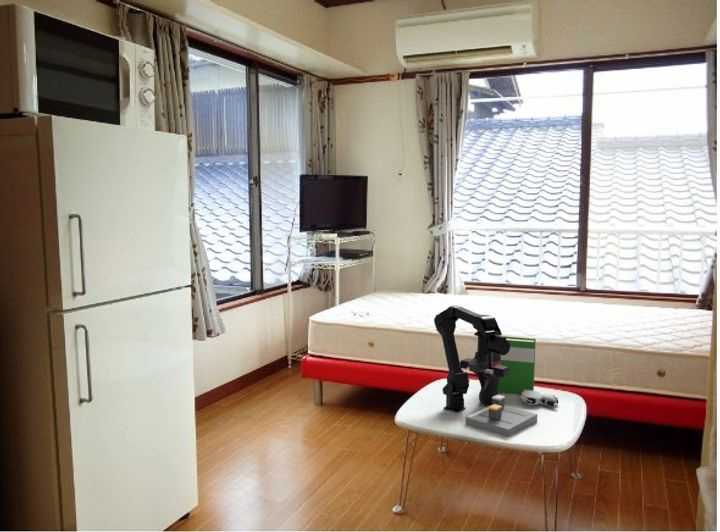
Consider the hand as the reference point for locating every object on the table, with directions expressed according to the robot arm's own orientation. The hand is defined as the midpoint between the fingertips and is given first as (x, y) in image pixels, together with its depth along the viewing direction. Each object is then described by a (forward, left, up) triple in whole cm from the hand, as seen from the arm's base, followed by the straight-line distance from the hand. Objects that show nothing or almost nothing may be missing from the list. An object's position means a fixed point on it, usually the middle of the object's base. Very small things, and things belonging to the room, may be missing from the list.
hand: (483, 389), depth 228 cm
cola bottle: (-9, +20, -13) cm, 26 cm away
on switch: (+1, +10, -10) cm, 14 cm away
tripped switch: (+6, -1, -10) cm, 11 cm away
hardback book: (-10, +42, -13) cm, 45 cm away
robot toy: (+6, +35, -13) cm, 38 cm away
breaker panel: (+6, +4, -13) cm, 15 cm away
